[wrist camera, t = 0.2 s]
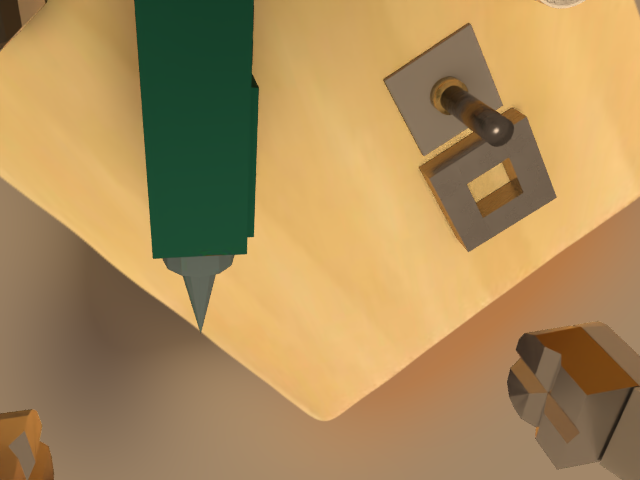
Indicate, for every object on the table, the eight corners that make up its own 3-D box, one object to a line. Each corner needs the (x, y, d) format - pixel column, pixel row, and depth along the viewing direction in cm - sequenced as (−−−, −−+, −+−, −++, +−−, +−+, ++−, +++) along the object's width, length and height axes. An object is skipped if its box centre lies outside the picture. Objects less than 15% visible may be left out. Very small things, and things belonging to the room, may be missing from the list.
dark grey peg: (433, 76, 58) (486, 112, 49) (465, 76, 59) (523, 112, 49) (427, 110, 60) (477, 152, 50) (458, 110, 61) (513, 151, 51)
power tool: (227, 231, 63) (250, 355, 46) (161, 234, 61) (160, 364, 44) (229, -107, 46) (266, -104, 30) (139, -116, 45) (125, -119, 28)
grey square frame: (418, 167, 64) (429, 178, 61) (512, 107, 63) (526, 116, 60) (457, 239, 70) (468, 252, 68) (542, 186, 69) (556, 197, 67)
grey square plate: (383, 79, 58) (384, 81, 57) (468, 23, 57) (470, 24, 56) (422, 154, 63) (423, 156, 63) (500, 103, 62) (502, 105, 62)
